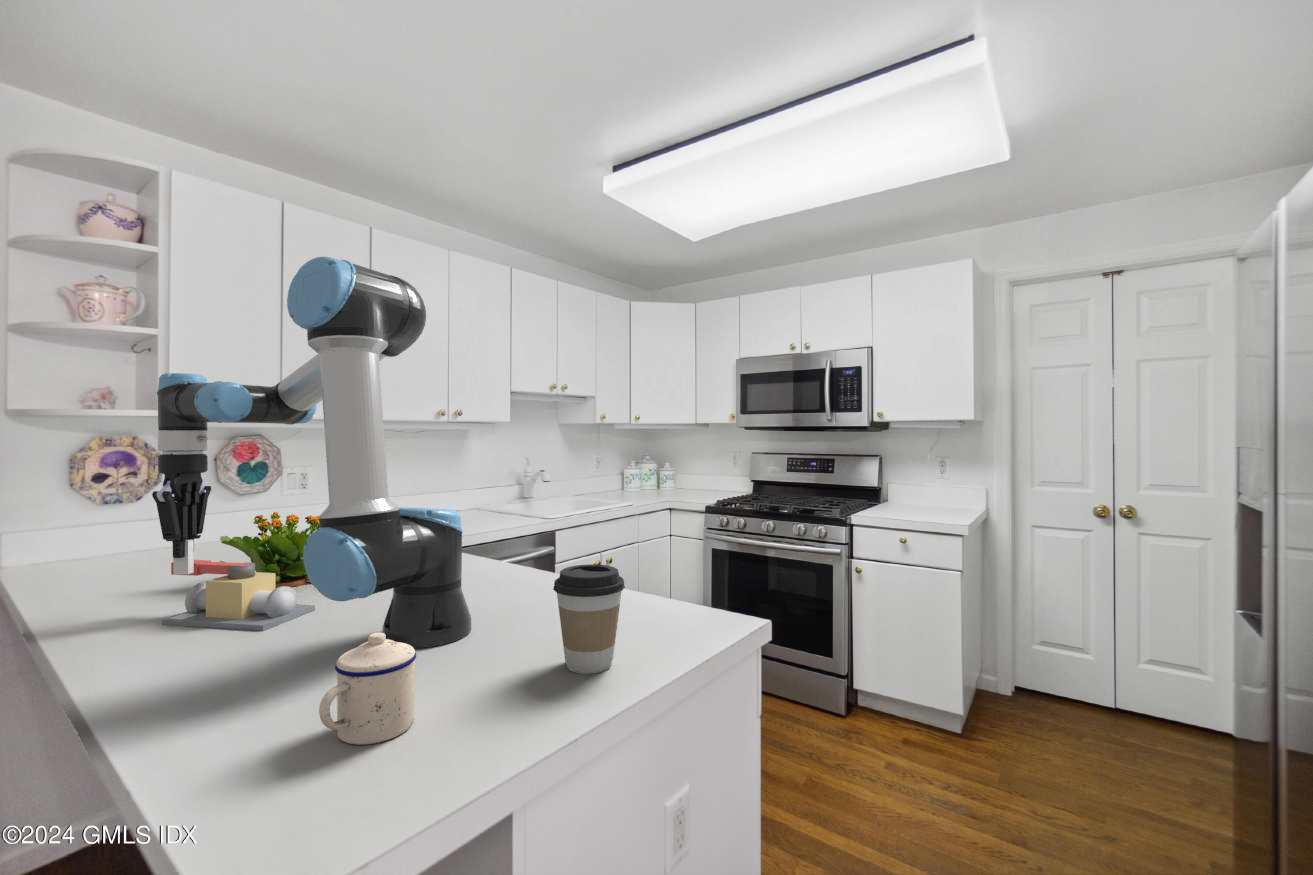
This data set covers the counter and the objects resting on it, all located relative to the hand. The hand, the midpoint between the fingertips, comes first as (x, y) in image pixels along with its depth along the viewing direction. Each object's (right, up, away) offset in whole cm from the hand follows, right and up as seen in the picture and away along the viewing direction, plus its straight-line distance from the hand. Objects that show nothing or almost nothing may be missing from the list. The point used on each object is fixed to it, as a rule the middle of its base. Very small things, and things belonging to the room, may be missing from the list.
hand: (183, 573), depth 114 cm
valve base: (+10, -9, +2) cm, 14 cm away
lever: (+4, -1, +3) cm, 5 cm away
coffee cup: (+82, -10, -22) cm, 85 cm away
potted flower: (+2, -9, +27) cm, 29 cm away
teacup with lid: (+57, -10, -43) cm, 72 cm away
